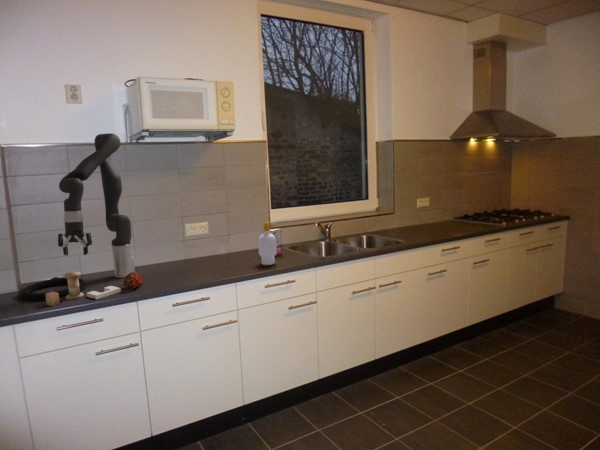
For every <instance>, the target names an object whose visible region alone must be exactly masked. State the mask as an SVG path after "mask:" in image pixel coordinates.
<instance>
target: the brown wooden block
mask: <svg viewBox="0 0 600 450" xmlns="http://www.w3.org/2000/svg"><path fill="white" fill-rule="evenodd" d="M49 292H50V293H47V292H46V293H47V294H45V295H46V300H45V301H46V302H45V303H46V305H47V306H49V307H54V306H58V305H60V304H61V303H60V298H59V294H58V293H57V292H54V291H49Z"/></svg>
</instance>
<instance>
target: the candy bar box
mask: <svg viewBox="0 0 600 450" xmlns="http://www.w3.org/2000/svg"><path fill="white" fill-rule="evenodd" d="M262 234H264V230H262ZM270 234H273V235H274V236H275V238H276V249H277V254H276V255H274V256H275V257H277V256H281V255H283V245H282V229H281V228H273V229H270Z"/></svg>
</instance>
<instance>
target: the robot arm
mask: <svg viewBox="0 0 600 450" xmlns="http://www.w3.org/2000/svg"><path fill="white" fill-rule="evenodd" d="M94 147H95V151H94V152H92V153H91V154H89V155H88V156H86V157H85V158H83V159H82V161H80V162H79V163H78V164H77V166H76V167H75V168H74V169H73V170H72V171H70V172H69V173H67V174H66V175H65V176H63V177H62V178H61V179H60V181H59V184H58V187H59V190H60V191H61V192H62V193H64V194H68V198H65V199H64V201H63V210H64V211H63V212H64V213H63V214H64V215H63V220H64V231H65V232H64V233H63V232H61V233H58V235H57V246H58V247H61V248H62V252H63V255H64V256H65V257H67V256H69V247H68V246H69V245H70V243H79V244H80V245H82V247H83V248H82V251H83V256H87V255H88V254H89V246H92V245H93V241H92V239H93V238H92V233H91V232H87V233H86V232H84V222H83V221H84V220H83V212H82V199H83V194H84V189H85V188H84V183H83V182H85V181H87V180H88V179H89V178H90V177H91V176H92V175H93V173H94V172H95V171H96V169H98V168H99V170H100V175H101V176H100V177H101V185H102V190H103V198H104V199H103V200H104V205H105V225H106V228H107V229H108V231H110V232H113V233H114V232H115V238H113V239H111V251H112V258H113V259H112V260H113V269H114V277H115V278H120V279H121V278H122V279H124V277H125V276H127V275H128V274H129V273H132V272H136V270H135V269H136V268H135V259H134V257H133V255H132V245H131V239H132V224H131V223H132V222H131V219H130V218H129V217H128V216H127V215H125V214H120V212H119V211H120V210H119V202H120V199H121V196H122V193H123V184H122V183H123V182H122V177H121V175H120V173H119V171H118V170H117V169H116V167H115V166H114V163H113V161H112V158H111V156H112V155H113V154H114V153H115V152H117V151H118V150H119V149H120V147H121V140H120V137H119V136H118V135H117V134H115V133H112V132H111V133H108V132H107V133H99V134H97V135H96V136H95V138H94ZM84 237H85V238H86V239H85V238H84ZM64 238H66V239H65V241H64Z"/></svg>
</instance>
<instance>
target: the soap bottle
mask: <svg viewBox="0 0 600 450" xmlns="http://www.w3.org/2000/svg"><path fill="white" fill-rule="evenodd" d="M271 222H272V221H267V222H265V221H264V223H263V224H264V225H262V226H263V231H264V234H263V233H262V234H261V235H260V236H259V237H258V241H257V244H258V255H259V256H260V257H261V259H260V260H261V264H262V265H263V266H271V265H275V263H276V261H275V260H276V259H275V257H276V256H274V255H276V254H277V249H276V238H275V236H274V235H273V234H270V230H271V228H270V227H271V226H270V224H271Z"/></svg>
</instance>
